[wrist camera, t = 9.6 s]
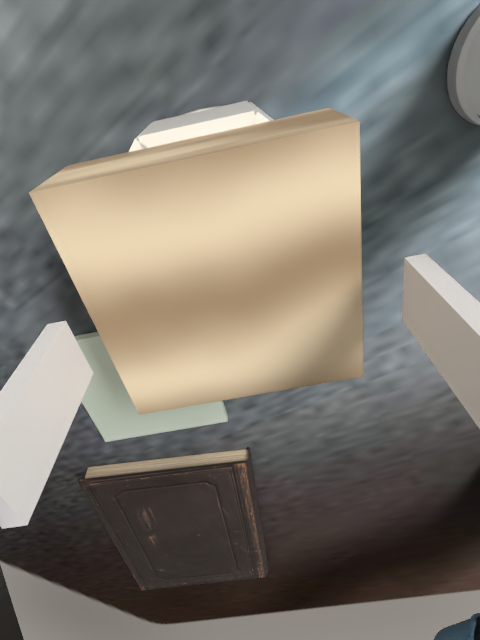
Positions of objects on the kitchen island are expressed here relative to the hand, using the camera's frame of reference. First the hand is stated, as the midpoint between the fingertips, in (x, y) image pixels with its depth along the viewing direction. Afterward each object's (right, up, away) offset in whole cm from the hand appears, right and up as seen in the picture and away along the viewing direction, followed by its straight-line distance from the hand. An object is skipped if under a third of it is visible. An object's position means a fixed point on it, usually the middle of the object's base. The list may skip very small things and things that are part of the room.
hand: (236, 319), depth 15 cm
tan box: (-1, +3, +4) cm, 5 cm away
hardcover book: (-6, -22, +29) cm, 36 cm away
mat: (-7, -5, +16) cm, 18 cm away
